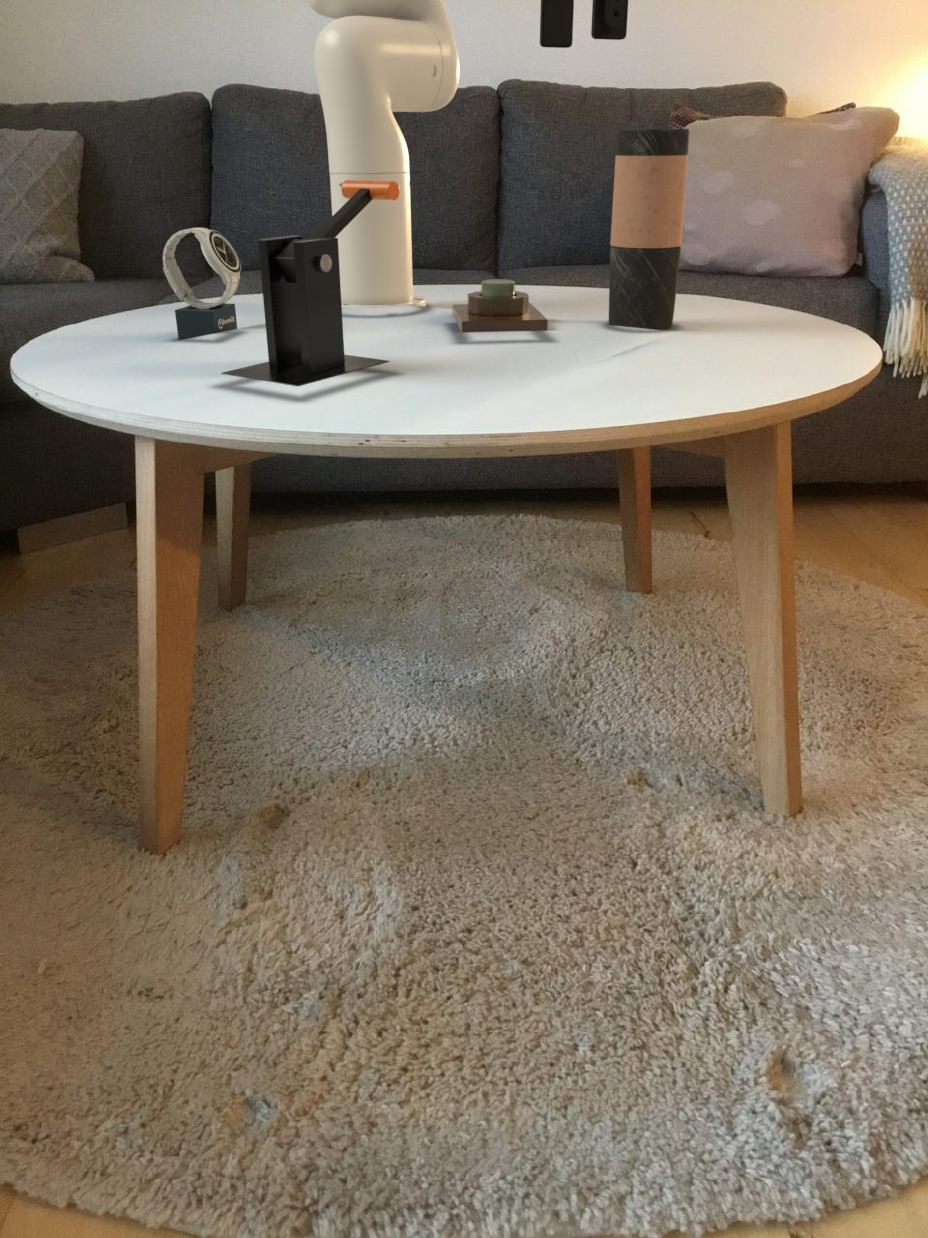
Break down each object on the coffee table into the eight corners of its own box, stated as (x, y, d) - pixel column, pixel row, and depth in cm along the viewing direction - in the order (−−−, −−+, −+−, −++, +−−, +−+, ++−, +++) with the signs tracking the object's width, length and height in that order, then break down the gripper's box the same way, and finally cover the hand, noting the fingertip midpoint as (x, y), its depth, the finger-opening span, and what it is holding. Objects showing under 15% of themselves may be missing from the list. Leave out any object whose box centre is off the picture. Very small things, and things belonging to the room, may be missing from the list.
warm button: (479, 296, 111) (479, 279, 110) (512, 295, 111) (512, 278, 110) (483, 300, 108) (483, 283, 107) (516, 300, 108) (517, 283, 107)
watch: (233, 342, 106) (222, 230, 102) (163, 339, 108) (149, 229, 103) (254, 333, 111) (244, 226, 107) (187, 330, 113) (174, 225, 108)
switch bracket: (316, 363, 96) (307, 230, 91) (390, 373, 92) (385, 235, 87) (222, 386, 87) (206, 241, 82) (298, 399, 83) (287, 247, 78)
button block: (452, 324, 116) (452, 287, 114) (530, 322, 117) (530, 286, 115) (461, 343, 105) (461, 303, 103) (547, 341, 106) (548, 301, 104)
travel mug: (680, 332, 110) (697, 128, 102) (610, 332, 110) (620, 129, 102) (668, 320, 117) (683, 128, 109) (602, 320, 117) (612, 129, 109)
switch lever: (356, 196, 93) (346, 172, 91) (403, 198, 90) (394, 172, 88) (272, 281, 87) (260, 256, 85) (319, 285, 84) (308, 259, 82)
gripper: (505, -172, 90) (503, 48, 97) (604, -230, 76) (592, 34, 83) (580, -163, 93) (571, 50, 100) (688, -218, 78) (669, 36, 86)
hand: (581, 42), depth 91 cm, fingers open, 9 cm apart
